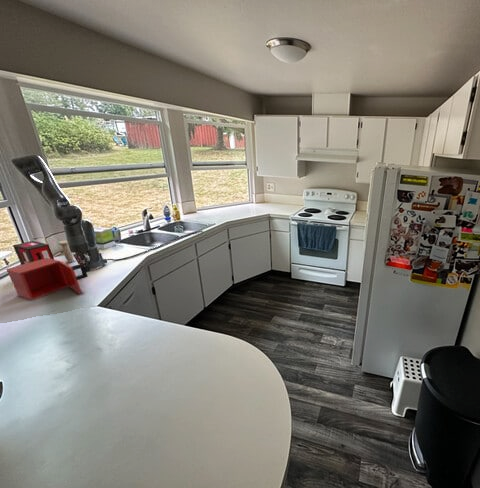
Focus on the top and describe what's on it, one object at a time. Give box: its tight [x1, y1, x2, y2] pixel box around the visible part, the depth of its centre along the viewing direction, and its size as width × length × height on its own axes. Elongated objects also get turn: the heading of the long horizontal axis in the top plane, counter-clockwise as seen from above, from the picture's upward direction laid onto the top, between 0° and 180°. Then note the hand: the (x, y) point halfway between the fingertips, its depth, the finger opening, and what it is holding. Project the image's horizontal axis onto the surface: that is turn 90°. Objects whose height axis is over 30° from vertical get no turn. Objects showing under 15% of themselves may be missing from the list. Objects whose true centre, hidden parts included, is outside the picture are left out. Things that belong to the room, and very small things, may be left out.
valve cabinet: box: [5, 258, 69, 301], centre depth 137 cm, size 12×16×16 cm
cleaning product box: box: [12, 240, 55, 265], centre depth 154 cm, size 16×9×20 cm, turn 70°
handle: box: [58, 239, 75, 263], centre depth 173 cm, size 5×6×15 cm
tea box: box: [93, 226, 116, 250], centre depth 202 cm, size 15×10×15 cm, turn 80°
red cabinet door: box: [60, 260, 89, 295], centre depth 141 cm, size 6×16×16 cm, turn 59°
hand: (87, 271), depth 141 cm, fingers closed on red cabinet door, 2 cm apart
